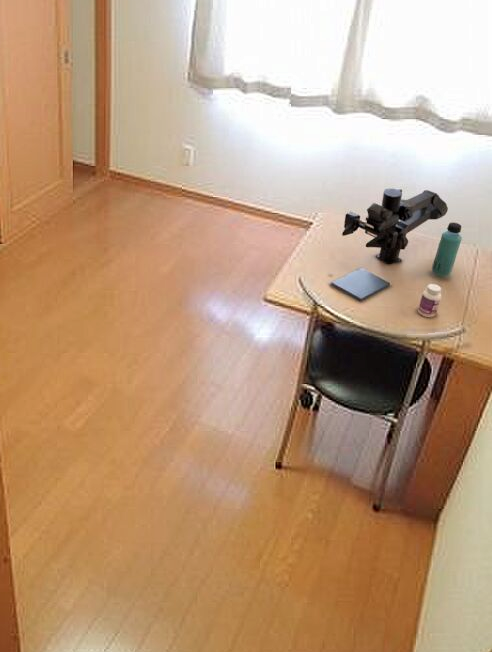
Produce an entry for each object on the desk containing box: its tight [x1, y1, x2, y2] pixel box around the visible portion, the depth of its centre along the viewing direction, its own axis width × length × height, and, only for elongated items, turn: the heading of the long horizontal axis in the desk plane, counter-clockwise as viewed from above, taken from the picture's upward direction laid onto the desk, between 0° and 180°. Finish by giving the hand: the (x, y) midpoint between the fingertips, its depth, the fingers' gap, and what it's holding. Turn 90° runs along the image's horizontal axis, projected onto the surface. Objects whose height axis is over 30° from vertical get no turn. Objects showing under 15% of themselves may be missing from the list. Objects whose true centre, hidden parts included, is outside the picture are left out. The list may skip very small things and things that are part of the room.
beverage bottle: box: [431, 222, 463, 277], centre depth 220 cm, size 6×7×20 cm
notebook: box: [330, 267, 391, 302], centre depth 218 cm, size 16×12×1 cm
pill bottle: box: [417, 283, 442, 318], centre depth 203 cm, size 5×5×10 cm
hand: (354, 239), depth 212 cm, fingers open, 9 cm apart
